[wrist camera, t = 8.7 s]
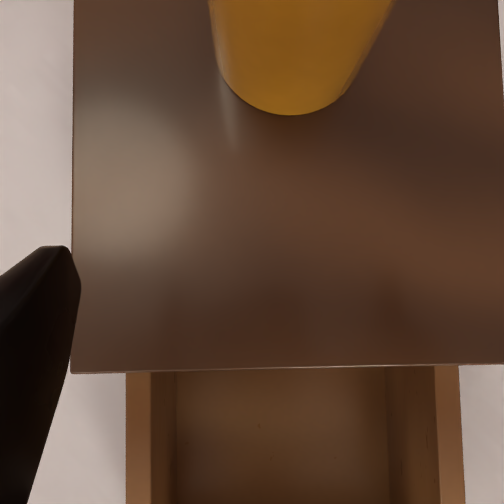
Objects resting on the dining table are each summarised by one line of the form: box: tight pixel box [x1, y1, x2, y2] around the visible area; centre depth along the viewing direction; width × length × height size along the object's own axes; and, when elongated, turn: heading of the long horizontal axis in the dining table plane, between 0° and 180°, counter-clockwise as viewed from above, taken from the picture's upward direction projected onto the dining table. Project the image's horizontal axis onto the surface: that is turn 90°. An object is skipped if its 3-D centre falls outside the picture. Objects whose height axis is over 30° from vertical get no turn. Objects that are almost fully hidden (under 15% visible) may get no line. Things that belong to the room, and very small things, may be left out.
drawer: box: [126, 365, 465, 504], centre depth 16 cm, size 18×12×6 cm, turn 1°
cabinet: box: [70, 0, 504, 374], centre depth 17 cm, size 15×13×8 cm
